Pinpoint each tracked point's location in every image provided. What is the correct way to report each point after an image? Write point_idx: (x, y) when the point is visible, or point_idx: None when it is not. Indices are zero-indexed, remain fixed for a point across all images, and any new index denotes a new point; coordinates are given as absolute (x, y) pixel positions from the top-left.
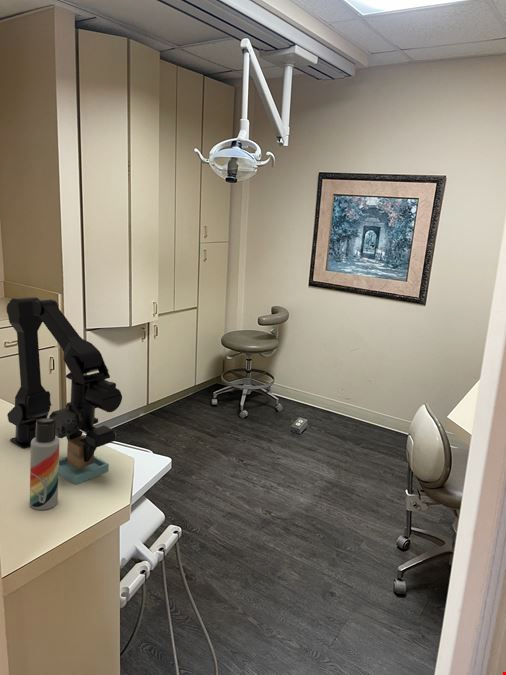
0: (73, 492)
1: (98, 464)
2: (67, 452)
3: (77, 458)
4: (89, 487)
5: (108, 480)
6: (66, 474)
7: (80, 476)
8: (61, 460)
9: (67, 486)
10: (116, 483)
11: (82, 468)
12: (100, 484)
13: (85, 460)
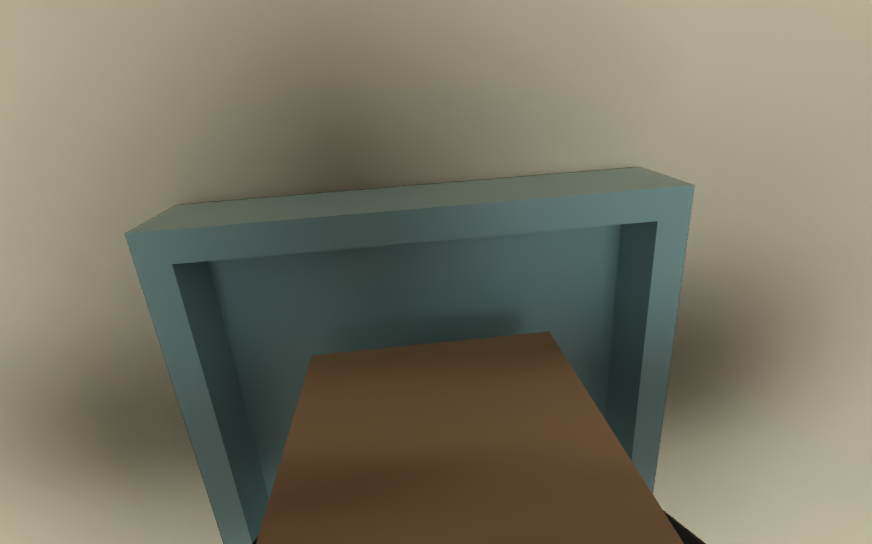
0: (14, 93)
1: None
2: (604, 429)
3: (314, 457)
4: (50, 290)
5: (104, 481)
6: (349, 204)
7: (154, 296)
8: (644, 310)
9: (192, 113)
10: (13, 506)
11: None
12: (62, 398)
13: None
